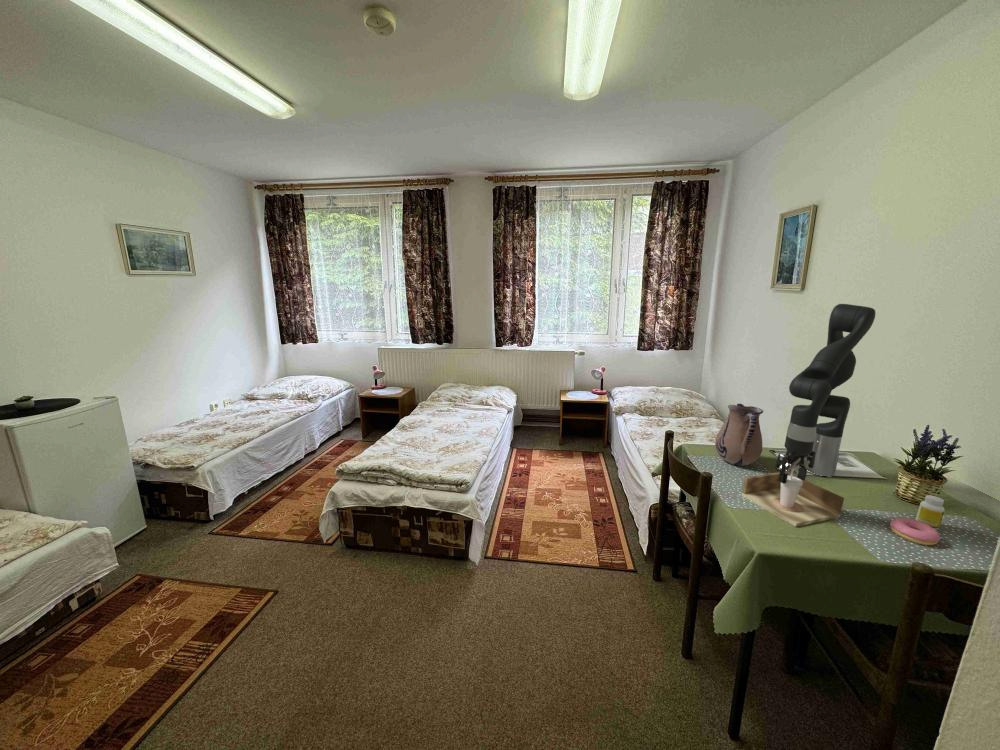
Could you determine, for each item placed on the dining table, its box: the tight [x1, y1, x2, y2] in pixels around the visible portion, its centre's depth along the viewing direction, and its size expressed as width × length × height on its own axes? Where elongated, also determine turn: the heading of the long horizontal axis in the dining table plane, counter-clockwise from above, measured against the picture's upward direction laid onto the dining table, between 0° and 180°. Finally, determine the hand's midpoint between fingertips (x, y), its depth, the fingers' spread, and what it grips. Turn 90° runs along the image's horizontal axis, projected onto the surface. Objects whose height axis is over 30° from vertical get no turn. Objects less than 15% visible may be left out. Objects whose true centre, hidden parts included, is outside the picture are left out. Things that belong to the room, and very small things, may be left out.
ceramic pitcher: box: [714, 403, 764, 467], centre depth 168 cm, size 18×21×25 cm
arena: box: [741, 471, 845, 528], centre depth 137 cm, size 20×20×7 cm
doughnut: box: [889, 517, 941, 546], centre depth 122 cm, size 11×11×4 cm
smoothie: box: [780, 467, 803, 508], centre depth 134 cm, size 6×6×14 cm
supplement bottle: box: [915, 495, 945, 531], centre depth 127 cm, size 5×5×10 cm
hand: (791, 480), depth 134 cm, fingers open, 8 cm apart
